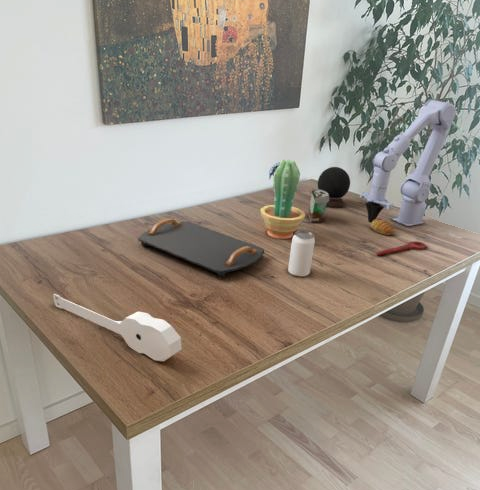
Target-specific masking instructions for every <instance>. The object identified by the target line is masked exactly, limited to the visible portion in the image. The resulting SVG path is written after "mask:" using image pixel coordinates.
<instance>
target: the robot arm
mask: <svg viewBox="0 0 480 490" xmlns="http://www.w3.org/2000/svg"><path fill="white" fill-rule="evenodd" d="M456 115H457V111H456V108H455V105H454V103H451V102H445V101H440V100H436V99H434V98H433V99H429V100H427V101H426V102H425V103H424V105H423V106H421V108H420V112H419V114H418V116H416V117H415V119H414V120H413V121H412V123H411V124H410V125H409V126H408V128H406V130H405V131H404V133H402V134H398V135H396V136H394V138H393V140H392V141H391V142H390V143H389V144H388V145H387V146H386V147H385V148H384V149H383V150H381V151H379V152H377V153H376V154H375V155H374V158H372V166H373V169H372V170H373V175H372V180H371V184H370V188H369V193H368V192H365V191H364V192H360V194H359V198H360V199H363V200H365V201H367V202H366V203H365V207H366V210H367V211H366V212H367V219H368V220H367V221H368V223H370V224H371V223H372V221H373V220H375V219H376V218H378V217H379V215H380V214H381V211H383V209H384V208H385V209H386V210H392V209H393V207H394V203H392V202H390V201H389V200H387V199H386V196H387V189H388V186H389V181H390V177H391V172H392V170H394V169H395V168H396V166H397V164H398V161H399V160H400V157H401V156H402V155H403V154H404V153H405V152H406V151H407V150H408V149H409V148H410V146H411V141H412V140H413V139H414V138H416V136H417V135H418V134H419V133H421V132H422V131H423V130H424V129H425V128H426V127H427V126H430V127H431V128H432V131H431V132H430V135H429V138H428V140H427V142H426V144H425V147H424V149H423V151H422V154H421V156H420V158H419V160H418V162H417V165H416V166H415V167H416V168H415V169H414V172H412V173H410V174H408V175H407V176H406V178H405V180H404V181H403V182H402V184H401V186H400V189H399V191H400V194H401V198H402V200H401V204H400V207H399V211H398V216H397V217H394V218H392V221H394V222H397V223H399V224H401V225H403V226H405V227H413V226H417V225H422V224H424V221H423V220H424V216H425V213H426V208H427V203H426V200H427V199H428V197H429V195H430V191H431V187H432V182H431V179H430V175H431V173H432V170H433V168H434V166H435V164H436V161H437V159H438V157H439V156H440V153H441V150H442V148H443V146H444V144H445V143H446V140H447V138H448V135H449V133H450V130H451V127H452V123H453V121H454V119H455V117H456Z"/></svg>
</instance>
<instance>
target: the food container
mask: <svg viewBox="0 0 480 490" xmlns="http://www.w3.org/2000/svg"><path fill="white" fill-rule="evenodd" d="M328 201H329V194H328V193H327V192H325V191H323V190H319V189H318V188H313V187H312V188H311V192H310V200H309V208H308V217H309V221H310V223H312V224H316V223H317V224H318V223H322V222H323V220H324V216H325V212H326V208H327V207H326V204H327V202H328Z"/></svg>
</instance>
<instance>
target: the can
mask: <svg viewBox="0 0 480 490" xmlns="http://www.w3.org/2000/svg"><path fill="white" fill-rule="evenodd" d="M291 238H292V239H291V246H290V252H289V259H288V266H287V271H288V273H289V274H290V275H292V276H293V277H300V278H303V277H307V276H309V275H310V274H311V268H312V262H313V256H314V249H315V243H316V240H315V234H314V233H313V232H311V231H308V230H297V231H296V230H295V231H294V234H293V236H292V237H291Z"/></svg>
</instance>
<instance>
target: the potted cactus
mask: <svg viewBox="0 0 480 490" xmlns="http://www.w3.org/2000/svg"><path fill="white" fill-rule="evenodd" d="M272 176H273V178H272ZM300 177H301V172H300V169H299V167H298V165H297V163H296V162H295V160H290V159H287V160H286V159H282V161H277V162H275V163H274V164H272V165H271V167H270V168H269V171H268V180H271V178H272V179H273V180H272V188H273V193H274V201H273V204H270V205H264V206H263V207H261V208H260V214H261V215H260V216H261V218H263V220H264V225H265V227H266V229H267V235H268V236H269V237H271V238H274V239H279V240H286V239H291V238H293V236H294V233H295V232H296V230H297V229H298V228H299V226H300V224H301V223H302V221H304V220H305V217H306V214H305V211H304V210H302V209H300V208H297V207H295V206H293V203H294V199H295V195H296V192H297V191H298V187H299V183H300Z"/></svg>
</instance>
